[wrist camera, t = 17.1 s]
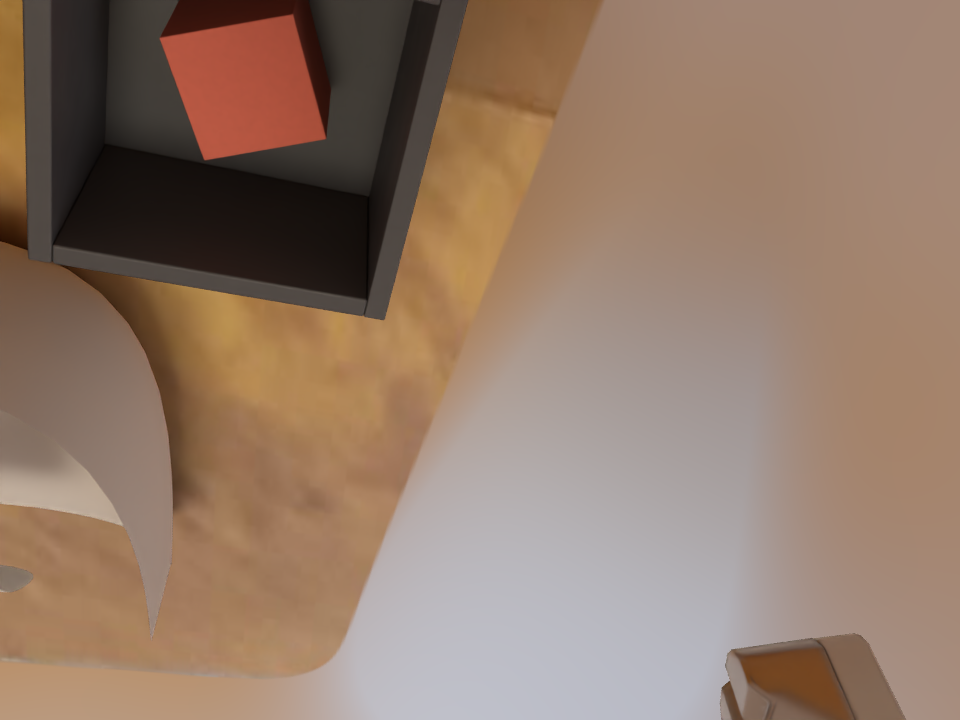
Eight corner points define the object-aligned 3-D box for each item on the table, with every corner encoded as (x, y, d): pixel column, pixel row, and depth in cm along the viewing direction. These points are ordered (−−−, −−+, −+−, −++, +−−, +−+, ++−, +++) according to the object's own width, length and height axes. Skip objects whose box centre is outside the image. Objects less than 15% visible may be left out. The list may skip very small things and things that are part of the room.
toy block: (301, -27, 34) (293, 14, 31) (331, 90, 37) (326, 139, 34) (181, -6, 35) (158, 37, 31) (220, 109, 37) (203, 160, 34)
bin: (453, -84, 34) (471, -13, 28) (383, 208, 42) (384, 320, 35) (95, -184, 31) (18, -132, 25) (87, 150, 39) (26, 260, 32)
